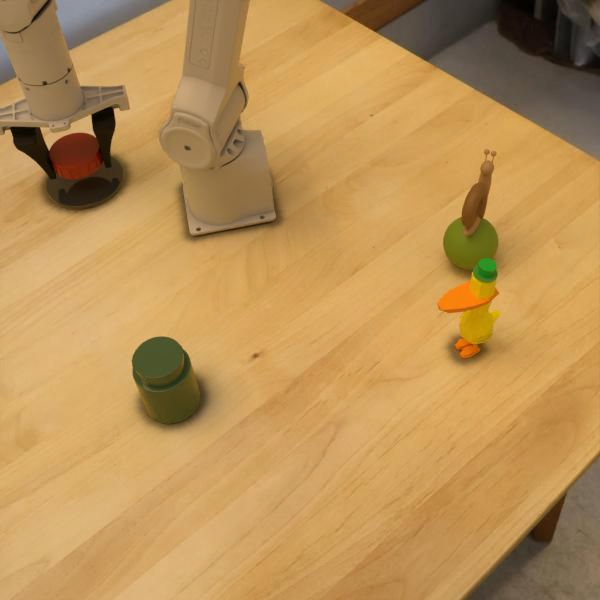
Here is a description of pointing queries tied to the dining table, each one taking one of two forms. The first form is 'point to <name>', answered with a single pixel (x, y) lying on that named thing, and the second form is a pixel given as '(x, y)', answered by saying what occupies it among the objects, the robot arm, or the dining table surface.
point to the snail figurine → (473, 225)
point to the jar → (165, 380)
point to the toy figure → (474, 307)
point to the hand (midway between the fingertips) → (80, 167)
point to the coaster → (86, 187)
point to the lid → (76, 155)
